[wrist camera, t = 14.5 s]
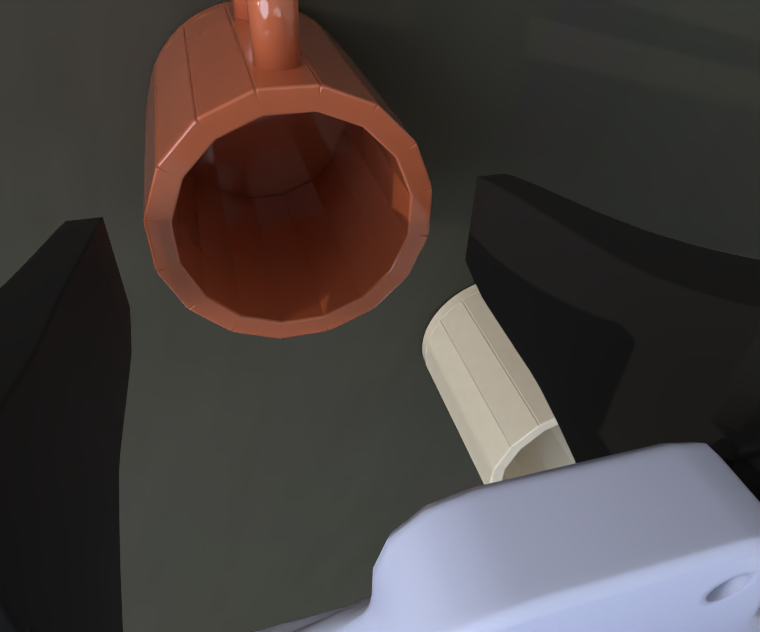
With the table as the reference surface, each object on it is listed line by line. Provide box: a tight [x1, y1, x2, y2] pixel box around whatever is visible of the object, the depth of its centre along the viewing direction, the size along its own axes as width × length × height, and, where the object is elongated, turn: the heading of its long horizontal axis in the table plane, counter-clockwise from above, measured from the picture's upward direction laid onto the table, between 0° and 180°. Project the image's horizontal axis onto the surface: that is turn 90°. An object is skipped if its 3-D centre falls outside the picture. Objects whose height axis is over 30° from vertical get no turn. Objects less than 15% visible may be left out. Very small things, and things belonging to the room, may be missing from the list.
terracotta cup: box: [143, 0, 433, 338], centre depth 14 cm, size 8×6×6 cm
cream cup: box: [422, 284, 576, 485], centre depth 23 cm, size 8×6×7 cm
